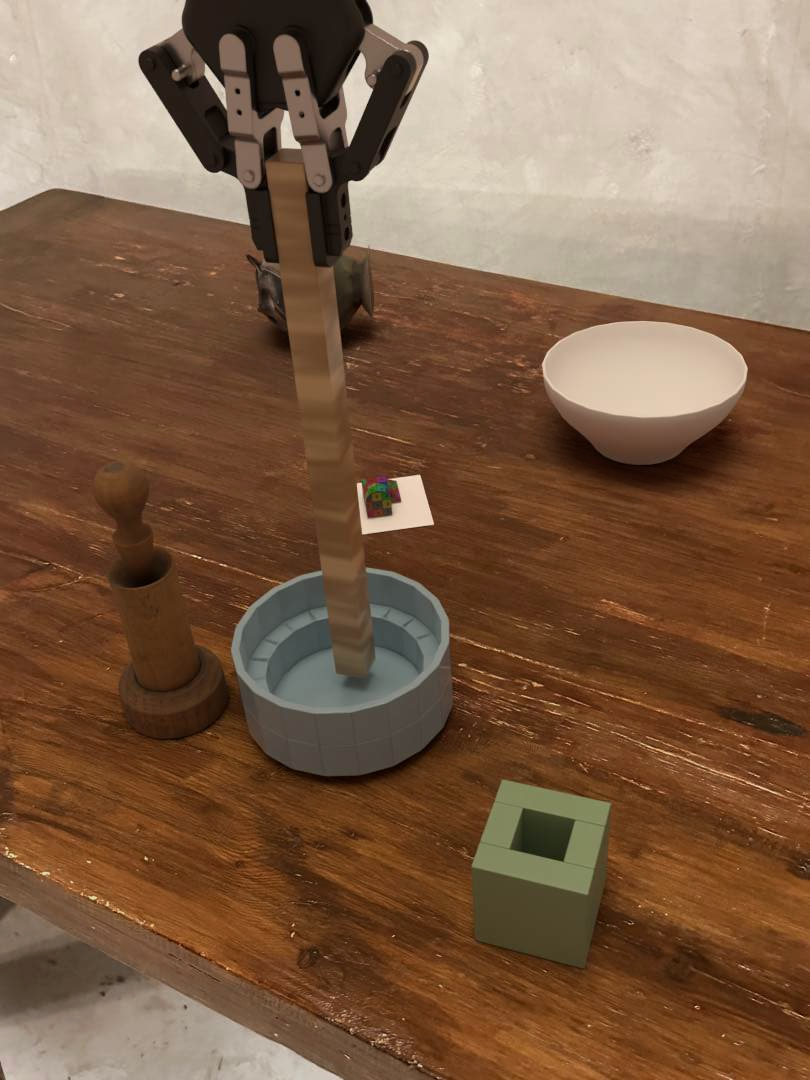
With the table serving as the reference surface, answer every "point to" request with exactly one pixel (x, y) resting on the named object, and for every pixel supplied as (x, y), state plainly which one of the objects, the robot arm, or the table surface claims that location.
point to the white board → (393, 504)
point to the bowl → (643, 387)
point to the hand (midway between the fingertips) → (305, 257)
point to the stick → (323, 416)
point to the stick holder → (541, 872)
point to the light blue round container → (343, 677)
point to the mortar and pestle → (155, 621)
